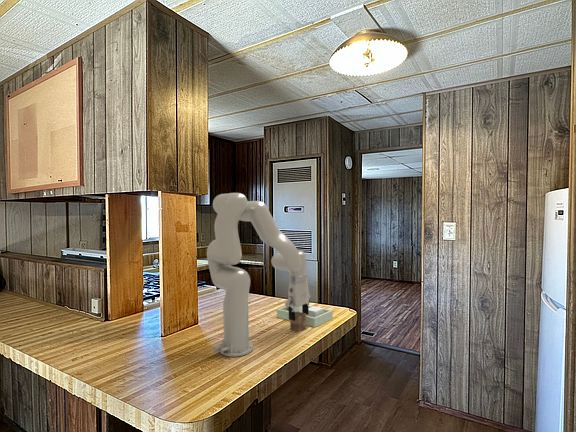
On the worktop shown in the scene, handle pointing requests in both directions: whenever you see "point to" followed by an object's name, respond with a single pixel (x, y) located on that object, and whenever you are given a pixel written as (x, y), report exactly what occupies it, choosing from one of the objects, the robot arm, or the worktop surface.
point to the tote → (310, 321)
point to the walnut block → (298, 322)
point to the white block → (315, 311)
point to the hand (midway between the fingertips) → (298, 316)
